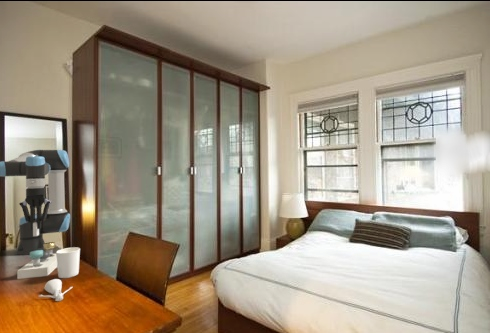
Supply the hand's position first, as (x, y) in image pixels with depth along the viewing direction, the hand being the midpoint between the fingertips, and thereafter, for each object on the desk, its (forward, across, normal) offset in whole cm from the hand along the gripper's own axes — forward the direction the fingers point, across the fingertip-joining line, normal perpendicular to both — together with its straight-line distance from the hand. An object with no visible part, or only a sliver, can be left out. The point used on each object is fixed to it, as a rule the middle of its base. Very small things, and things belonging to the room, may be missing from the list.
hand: (36, 235), depth 134 cm
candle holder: (+19, +16, -6) cm, 26 cm away
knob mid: (+17, 0, +8) cm, 19 cm away
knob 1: (+15, 0, 0) cm, 15 cm away
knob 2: (+15, 0, +16) cm, 22 cm away
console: (+19, 0, +8) cm, 21 cm away
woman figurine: (+20, +17, -28) cm, 39 cm away
